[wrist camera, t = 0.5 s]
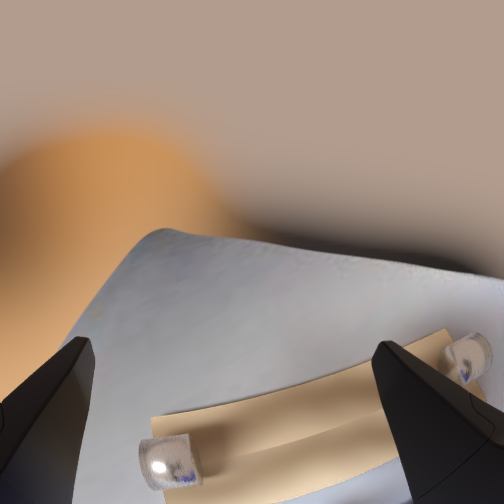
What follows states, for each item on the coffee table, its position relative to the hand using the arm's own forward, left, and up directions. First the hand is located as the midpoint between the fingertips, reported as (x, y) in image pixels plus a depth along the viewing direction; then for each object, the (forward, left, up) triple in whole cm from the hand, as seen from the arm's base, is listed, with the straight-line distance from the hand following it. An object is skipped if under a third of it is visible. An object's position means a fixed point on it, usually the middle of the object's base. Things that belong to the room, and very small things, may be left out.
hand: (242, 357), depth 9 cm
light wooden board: (-1, -5, -15) cm, 16 cm away
